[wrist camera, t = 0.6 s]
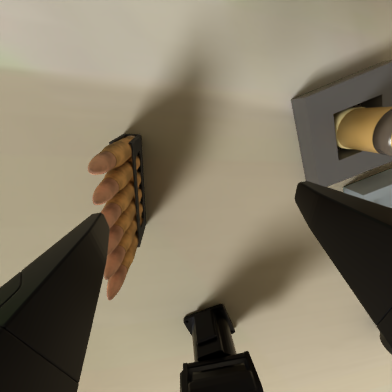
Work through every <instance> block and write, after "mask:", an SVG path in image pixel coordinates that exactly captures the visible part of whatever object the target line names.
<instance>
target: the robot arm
mask: <svg viewBox="0 0 392 392" xmlns="http://www.w3.org/2000/svg"><path fill="white" fill-rule="evenodd" d="M295 202H296V204H297V206H298V207H299V209H300V211H301V213H302V215H303V217H304V219H305V221H306V223H307V224H308V226H309V228H310V229H311V231H312V232H313V234H314V235H315V237H316V238H317V240H318V241H319V243H320V244H321V246H322V247H323V249H324V250H325V251H326V253H327V254H328V256H329V257H330V259H331V260H332V262H333V263H334V265H335V266H336V268H337V269H338V270H339V272H340V273H341V275H342V276H343V278H344V279H345V281H346V282H347V284H348V285H349V287H350V288H351V289H352V291H353V292H354V294H355V295H356V297H357V298H358V300H359V301H360V303H361V304H362V306H363V307H364V308H365V310H366V311H367V313H368V314H369V316H370V317H371V319H372V320H373V322H374V323H375V324H376V325H377V328H378V329H379V331H380V332H381V334H382V335H383V336H384V338H385V339H386V341H387V342H388V344H389V345H390V347H391V348H392V208H390V207H386V206H383V205H380V204H377V203H374V202H371V201H368V200H365V199H362V198H359V197H355V196H352V195H349V194H346V193H343V192H340V191H337V190H334V189H331V188H328V187H325V186H321V185H318V184H315V183H312V182H309V181H305V182H300V183H298V185H297V189H296V194H295ZM109 233H110V228H109V225H108V223H107V221H106V218H105V216H104V214H103V213H95V214H92V215H91V216H89V217H88V218H87V219H86V220H84V221H83V222H82V223H81V224H79V225H78V226H77V227H76V228H74V229H73V230H72V231H71V232H69V233H68V234H67V235H66V236H64V237H63V238H62V239H61V240H59V241H58V242H57V243H56V244H54V245H53V246H52V247H51V248H49V249H48V250H47V251H46V252H44V253H43V254H42V255H41V256H39V257H38V258H37V259H36V260H34V261H33V262H32V263H31V264H29V265H28V266H27V267H26V268H24V269H23V270H22V271H21V272H19V273H18V274H17V275H15V276H14V277H13V278H12V279H11V280H9V281H8V282H7V283H5V284H4V285H3V286H2V287H0V392H77V389H78V383H79V380H80V375H81V371H82V367H83V362H84V358H85V353H86V349H87V345H88V340H89V336H90V332H91V327H92V323H93V319H94V314H95V310H96V305H97V301H98V297H99V292H100V288H101V284H102V279H103V275H104V271H105V266H106V261H107V253H108V243H109ZM184 324H185V325H186V327H187V329H188V330H189V332H190V334H191V335H192V337H193V348H194V360H195V362H193V363H188V364H187V363H183V371H182V372H181V373H180V392H263V388H262V385H261V382H260V379H259V377H258V374H257V372H256V369H255V367H254V364H253V362H252V359H251V357H250V354H249V352H248V351H245V352H244V353H239V354H236V351H235V347H234V343H233V339H232V336H231V334H233V333H234V332H235V329H234V327H233V324H232V322H231V320H230V318H229V316H228V314H227V312H226V309H225V307H224V305H223V304H219V305H217V306H214V307H211V308H209V309H206V310H203V311H201V312H198V313H195V314H193V315H190V316H187V317H185V318H184Z"/></svg>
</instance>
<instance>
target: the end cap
mask: <svg viewBox="0 0 392 392" xmlns="http://www.w3.org/2000/svg"><path fill="white" fill-rule="evenodd" d="M380 340H381V342H382V344H383V345H384V347H385V348H386V349H387V350H388V351H389V352H390V353H391V354H392V348H391V347H390V345H389V344H388V342H387V341H386V339H385V338H384V336H383V335H382V334H381V332H380Z"/></svg>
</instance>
